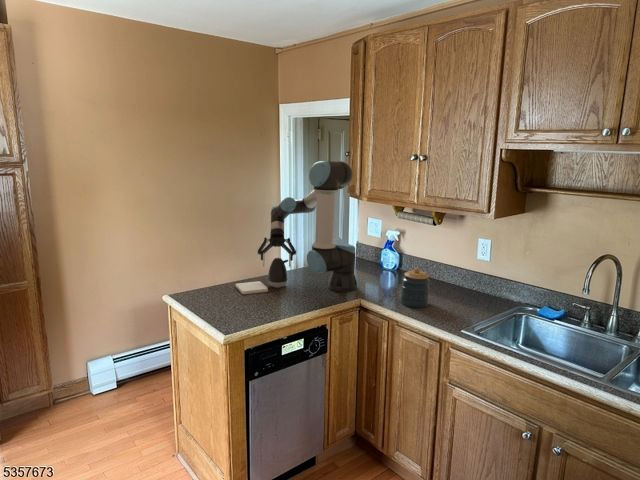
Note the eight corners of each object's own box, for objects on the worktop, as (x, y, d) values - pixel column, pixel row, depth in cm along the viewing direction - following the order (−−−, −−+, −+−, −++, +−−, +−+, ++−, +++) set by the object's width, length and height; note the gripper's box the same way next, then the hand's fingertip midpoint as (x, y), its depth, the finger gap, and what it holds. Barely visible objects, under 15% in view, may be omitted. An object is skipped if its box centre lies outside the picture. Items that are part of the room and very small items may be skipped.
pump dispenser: (286, 289, 224) (287, 260, 221) (266, 288, 224) (266, 259, 221) (288, 283, 234) (289, 255, 231) (269, 282, 234) (269, 254, 231)
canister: (411, 309, 202) (414, 272, 198) (394, 300, 214) (397, 265, 210) (433, 306, 208) (437, 270, 204) (416, 297, 219) (419, 263, 215)
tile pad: (268, 291, 220) (268, 288, 220) (242, 294, 215) (242, 291, 215) (260, 283, 232) (260, 281, 232) (235, 286, 226) (235, 283, 226)
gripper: (299, 235, 246) (300, 269, 234) (254, 234, 244) (252, 268, 232) (300, 227, 239) (301, 262, 228) (254, 227, 237) (252, 261, 226)
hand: (276, 265), depth 230 cm, fingers open, 13 cm apart
